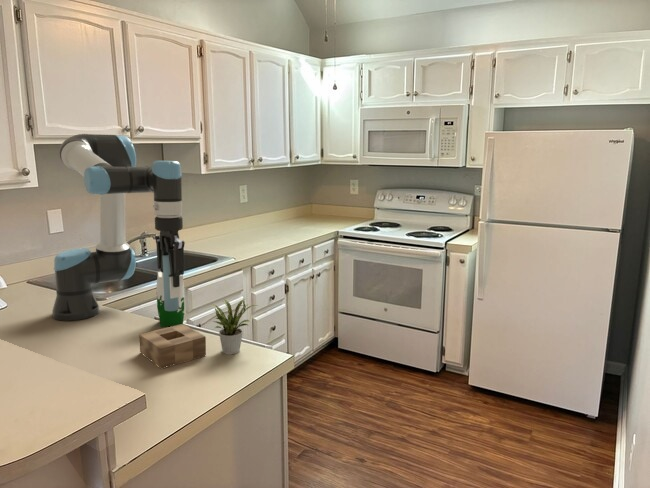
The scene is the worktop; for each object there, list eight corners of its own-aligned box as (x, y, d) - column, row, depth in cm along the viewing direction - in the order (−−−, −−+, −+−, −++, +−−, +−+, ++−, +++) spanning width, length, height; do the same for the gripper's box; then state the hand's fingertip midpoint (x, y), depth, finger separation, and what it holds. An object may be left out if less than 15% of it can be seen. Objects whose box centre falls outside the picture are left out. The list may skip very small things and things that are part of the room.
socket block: (140, 353, 146) (139, 334, 145) (183, 341, 156) (182, 323, 155) (161, 368, 136) (160, 348, 135) (205, 355, 146) (205, 336, 145)
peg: (162, 308, 143) (160, 255, 140) (174, 306, 146) (173, 253, 143) (168, 312, 140) (166, 257, 138) (181, 309, 143) (179, 255, 140)
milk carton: (185, 326, 170) (184, 270, 166) (158, 328, 166) (156, 271, 163) (183, 317, 178) (182, 264, 174) (157, 320, 174) (155, 265, 171)
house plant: (258, 340, 159) (258, 292, 155) (259, 358, 145) (259, 305, 142) (213, 342, 156) (212, 292, 153) (209, 360, 143) (208, 306, 140)
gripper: (142, 213, 142) (146, 291, 146) (170, 220, 130) (173, 305, 134) (167, 212, 147) (169, 287, 151) (195, 218, 135) (197, 299, 139)
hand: (171, 295), depth 143 cm, fingers closed on peg, 4 cm apart
